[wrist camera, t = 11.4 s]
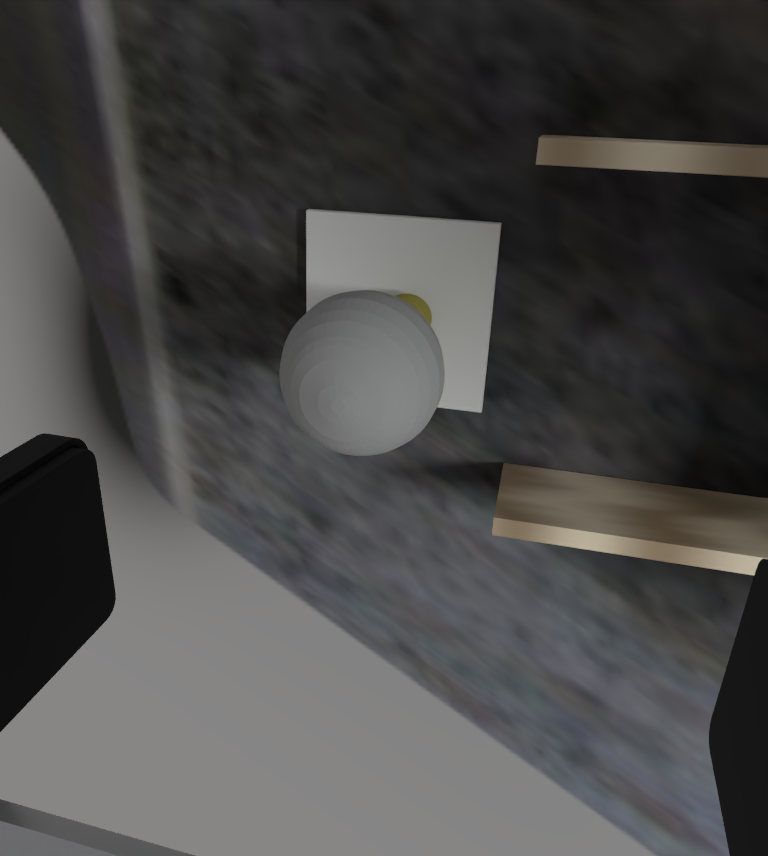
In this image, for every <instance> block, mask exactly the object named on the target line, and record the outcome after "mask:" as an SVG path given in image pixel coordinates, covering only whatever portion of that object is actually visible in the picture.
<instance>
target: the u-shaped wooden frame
mask: <svg viewBox="0 0 768 856" xmlns="http://www.w3.org/2000/svg"><path fill="white" fill-rule="evenodd" d="M536 165H554V166H571V167H589V168H607V169H625V170H643V171H661V172H679V173H697V174H714V175H732V176H750V177H768V145H750V144H730V143H709V142H688V141H667V140H646V139H625V138H605V137H584V136H563V135H542V136H540V137H539V141H538V150H537V158H536ZM492 535H496V536H502V537H509V538H515V539H522V540H528V541H535V542H541V543H547V544H554V545H560V546H567V547H573V548H580V549H586V550H593V551H599V552H606V553H612V554H618V555H625V556H631V557H638V558H644V559H651V560H657V561H664V562H670V563H677V564H683V565H689V566H696V567H702V568H709V569H715V570H722V571H728V572H735V573H741V574H747V575H755V572H756V569H757V566H758V564H759V562H760V561H761V560H762V559H768V498H760V497H753V496H746V495H738V494H731V493H724V492H716V491H709V490H701V489H694V488H687V487H679V486H672V485H664V484H657V483H650V482H642V481H635V480H628V479H620V478H613V477H605V476H598V475H591V474H583V473H576V472H568V471H561V470H554V469H546V468H539V467H531V466H524V465H517V464H509V463H504V464H503V469H502V475H501V481H500V486H499V492H498V498H497V503H496V509H495V515H494V522H493V530H492Z"/></svg>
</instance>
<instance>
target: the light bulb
mask: <svg viewBox="0 0 768 856" xmlns="http://www.w3.org/2000/svg"><path fill="white" fill-rule="evenodd" d="M431 322H432V315H431V311H430V308H429V306H428V305H427V303H426V302H425V301H424V300H423V299H421V298H420V297H418V296H416V295H413V294H400V295H396V296H393V295H390V294H387V293H384V292H379V291H372V290H358V291H349V292H344V293H339V294H336V295H333V296H330V297H328V298H326V299H324V300H322V301H320V302H319V303H317V304H316V305H315V306H313V307H312V308H311V309H310V310H309V311H308V312H307V313H306V314H305V315H304V316H302V317H301V318H300V319H299V321H298V322H297V323H296V324H295V325H294V327H293V328H292V330H291V331H290V333H289V335H288V337H287V339H286V342H285V345H284V348H283V352H282V358H281V363H280V385H281V390H282V394H283V398H284V401H285V404H286V406H287V409H288V411H289V413H290V415H291V416H292V418H293V420H294V421H295V422H296V424H297V425H298V426H299V427H300V429H301V430H302V431H303V432H304V433H305V434H306V435H307V436H309V437H310V438H311V439H312V440H314V441H315V442H317V443H318V444H320V445H322V446H323V447H325V448H327V449H330V450H332V451H335V452H338V453H342V454H347V455H355V456H369V455H377V454H382V453H385V452H388V451H391V450H393V449H395V448H397V447H400V446H402V445H404V444H405V443H407V442H409V441H410V440H412V439H413V438H414V437H416V436H417V435H418V434H419V433H420V432H421V431H422V430H423V429H424V428H425V426H426V425H427V424H428V422H429V421H430V419H431V417H432V415H433V413H434V412H435V410H436V408H437V406H438V404H439V402H440V399H441V396H442V393H443V388H444V380H445V369H444V361H443V354H442V349H441V346H440V343H439V340H438V338H437V336H436V334H435V332H434V330H433V328H432V327H431Z"/></svg>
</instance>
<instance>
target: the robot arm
mask: <svg viewBox="0 0 768 856" xmlns="http://www.w3.org/2000/svg"><path fill="white" fill-rule="evenodd" d="M115 599H116V598H115V588H114V580H113V574H112V567H111V560H110V554H109V546H108V539H107V532H106V526H105V518H104V512H103V505H102V498H101V491H100V484H99V477H98V470H97V463H96V459H95V456H94V454H93V453H92V452H91V451H90V450H88V448H87V446H86V444H85V443H84V442H83V441H82V440H80V439H77V438H71V437H64V436H58V435H51V434H40V435H38V436H36V437H34V438H33V439H31V440H29V441H27V442H26V443H24V444H22V445H20V446H19V447H17V448H15V449H14V450H12V451H10V452H9V453H7V454H5V455H3V456H2V457H0V732H1V731H2V730H3V729H4V727H5V726H6V725H7V724H8V723H9V722H10V721H11V720H12V719H13V718H14V717H15V716H16V715H17V714H18V713H19V712H20V711H21V710H22V709H23V708H24V707H25V705H26V704H27V703H28V702H29V701H30V700H31V699H32V698H33V697H34V696H35V695H36V694H37V693H38V692H39V691H40V690H41V689H42V687H43V686H44V685H45V684H46V683H47V682H48V681H49V680H50V679H51V678H52V677H53V676H54V675H55V674H56V673H57V672H58V671H59V670H60V669H61V667H62V666H63V665H64V664H65V663H66V662H67V661H68V660H69V659H70V658H71V657H72V656H73V655H74V654H75V653H76V652H77V650H78V649H80V648H81V646H82V645H83V644H84V643H85V642H86V641H87V640H88V639H89V638H90V637H91V636H92V635H93V634H94V633H95V632H96V631H97V630H98V629H99V627H100V626H101V625H102V624H103V623H104V622H105V621H106V620H107V619H108V617H109V616H110V614H111V612H112V611H113V608H114V604H115ZM709 747H710V754H711V759H712V764H713V770H714V775H715V780H716V785H717V790H718V796H719V801H720V806H721V811H722V816H723V822H724V827H725V832H726V837H727V842H728V848H729V853H730V856H768V559H762V560H761V561H760V562H759V564H758V566H757V569H756V572H755V575H754V578H753V582H752V585H751V588H750V592H749V595H748V598H747V602H746V605H745V608H744V612H743V615H742V618H741V622H740V625H739V628H738V632H737V635H736V638H735V642H734V645H733V648H732V652H731V655H730V658H729V662H728V665H727V668H726V672H725V675H724V678H723V682H722V685H721V688H720V692H719V695H718V698H717V702H716V705H715V708H714V712H713V715H712V718H711V723H710V730H709ZM0 856H194V855H191V854H188V853H184V852H180V851H177V850H173V849H170V848H167V847H163V846H160V845H157V844H153V843H149V842H146V841H143V840H139V839H136V838H132V837H129V836H125V835H122V834H119V833H115V832H112V831H108V830H105V829H101V828H98V827H94V826H91V825H87V824H84V823H80V822H77V821H74V820H70V819H67V818H63V817H60V816H56V815H53V814H49V813H46V812H42V811H39V810H35V809H32V808H29V807H25V806H22V805H18V804H15V803H11V802H8V801H4V800H1V799H0Z"/></svg>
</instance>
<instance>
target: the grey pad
mask: <svg viewBox="0 0 768 856" xmlns="http://www.w3.org/2000/svg"><path fill="white" fill-rule="evenodd" d="M501 225H502V223H500V222H487V221H473V220H459V219H445V218H431V217H417V216H403V215H389V214H375V213H361V212H347V211H334V210H320V209H308V210H306V306H307V312H308V311H309V310H310V309H311V308H312V307H313V306H315V305H316V304H317V303H319V302H320V301H322V300H324V299H326V298H328V297H330V296H333V295H336V294H339V293H344V292H349V291H358V290H372V291H379V292H384V293H387V294H390V295H393V296H396V295H400V294H413V295H416V296H418V297H420V298H421V299H423V300H424V301H425V302H426V303H427V305H428V306H429V308H430V311H431V315H432V322H431V327H432V328H433V330H434V332H435V334H436V336H437V338H438V340H439V343H440V346H441V349H442V354H443V361H444V369H445V380H444V388H443V393H442V396H441V399H440V402H439V404H438V406H437V407H439V408H447V409H455V410H464V411H472V412H480V413H481V412H482V408H483V399H484V389H485V380H486V370H487V360H488V351H489V341H490V331H491V322H492V312H493V302H494V293H495V283H496V273H497V264H498V254H499V244H500V235H501Z"/></svg>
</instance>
